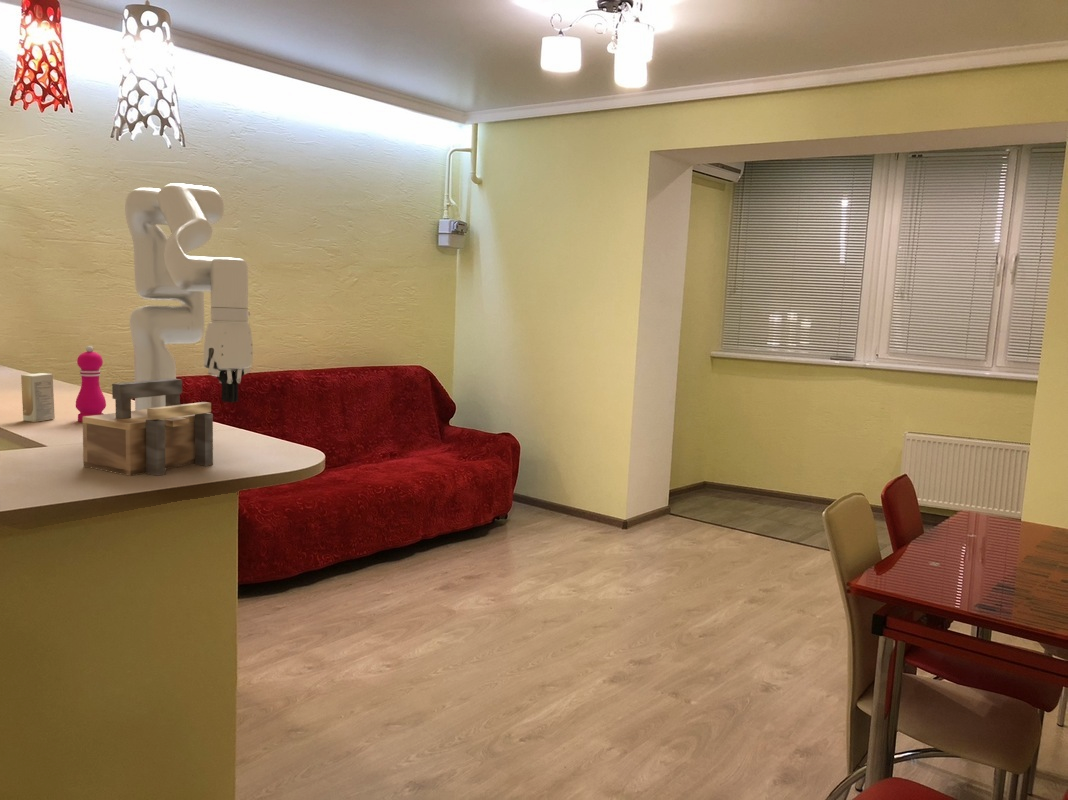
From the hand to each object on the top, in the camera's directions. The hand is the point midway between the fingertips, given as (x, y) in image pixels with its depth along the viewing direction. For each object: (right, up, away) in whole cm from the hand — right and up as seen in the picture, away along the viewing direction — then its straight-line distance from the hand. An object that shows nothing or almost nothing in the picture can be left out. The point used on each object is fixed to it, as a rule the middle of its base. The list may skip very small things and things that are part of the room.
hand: (230, 401), depth 185 cm
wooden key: (-6, -3, -11) cm, 13 cm away
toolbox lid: (-13, -4, -7) cm, 16 cm away
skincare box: (-65, -5, +41) cm, 77 cm away
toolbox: (-13, -13, -6) cm, 20 cm away
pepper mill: (-52, -5, +43) cm, 68 cm away
